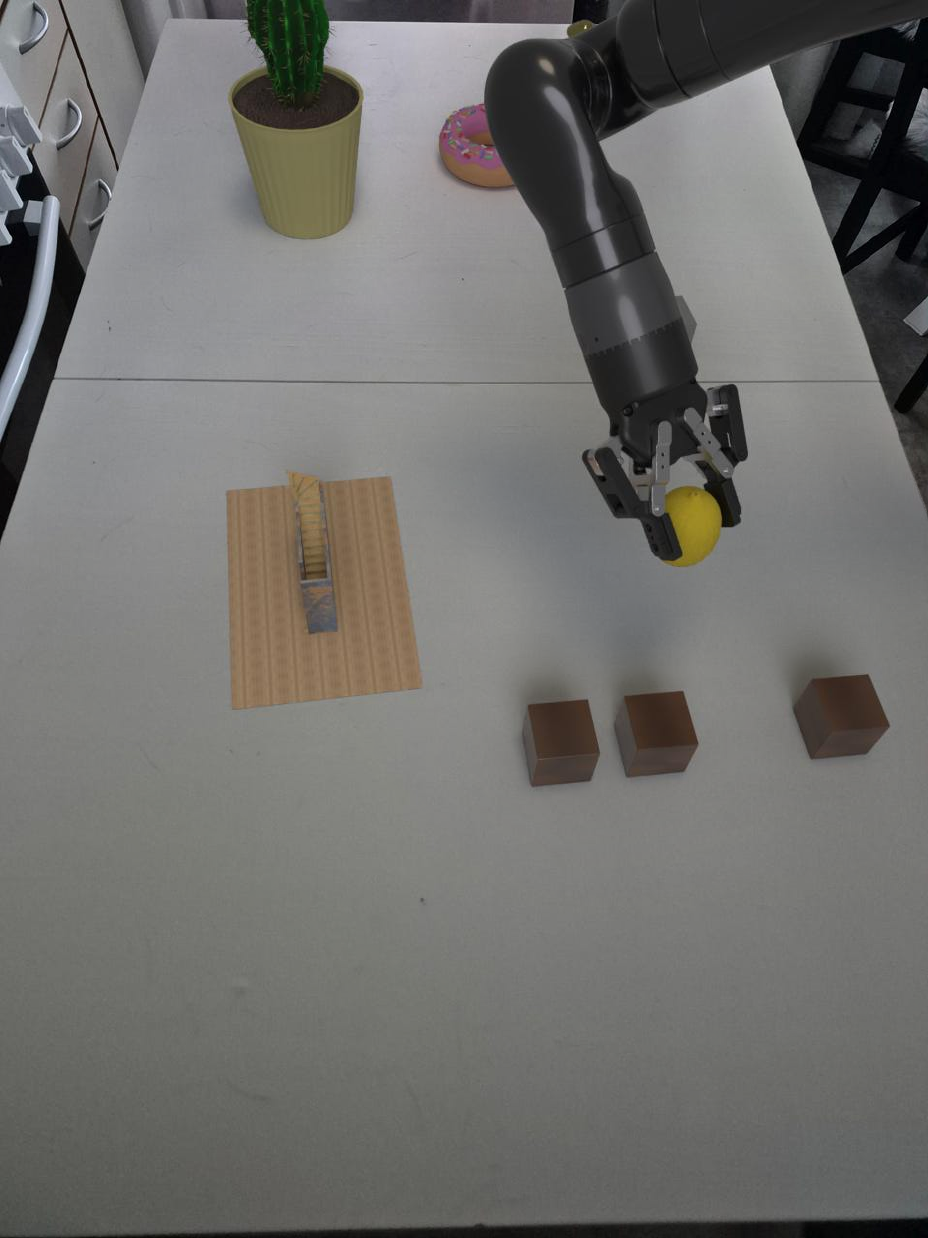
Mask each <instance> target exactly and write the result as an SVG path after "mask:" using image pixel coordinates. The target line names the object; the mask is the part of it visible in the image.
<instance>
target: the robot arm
mask: <svg viewBox="0 0 928 1238" xmlns="http://www.w3.org/2000/svg"><path fill="white" fill-rule="evenodd" d="M927 18H928V0H626V1H625V2H624V3H623V5H622V6H621V8H620V10H619V12H618V13H616V14H615V15H612V16H610V17H609V18H607V19H605V20H603V21H602V22H599V23H598V24H596V26H594V27H592V28H590V29H588V30H586V31H584V32H581V33H579V34H576V35H574V36H571V37H566V38H565V37H564V38H543V37H542V38H540V37H539V38H535V37H533V38H526V39H521V40H519V41H516V42H514V43H512V44H510V45H508V46H507V47H506V48H504V49H503V50H502V51H501V52H500V53H499V54H498V55H497V57H496V58H495V60H493V62H492V65H491V66H490V67H489V70H488V73H487V76H486V78H485V83H484V91H483V104H484V107H485V116H486V122H487V126H488V130H489V133H490V136H491V139H492V142H493V144H494V145H493V147H495V149H496V151H497V154H498V156H499V158H500V160H501V161H502V163H503V165H504V167H505V169H506V171H507V172H508V174H509V176H510V178H511V179H512V181H513V183H514V184H515V185H514V186H515V188H516V190H517V191H518V193H519V195H520V197H521V199H522V200H523V202H524V203H525V205H526V207H527V208H528V210H529V211H530V213H531V214H532V215H533V217H534V218H535V220H536V221H537V223H538V224H539V226H540V228H541V229H542V231H543V234H544V236H545V240H546V243H547V247H548V250H549V253H550V256H551V259H552V262H553V265H554V267H555V271H556V273H557V277H558V279H559V282H560V285H561V287H562V289H563V294H564V296H565V300H566V305H567V309H568V314H569V318H570V319H569V320H570V322H571V325H572V328H573V329H572V330H573V331H574V334H575V337H576V340H577V343H578V345H579V348H580V351H581V354H582V357H583V361H584V362H585V365H586V368H587V372H588V374H589V376H590V379H591V383H592V385H593V388H594V390H595V394H596V396H597V399H598V402H599V405H600V406H601V409H603V411H604V412H605V413H606V415H607V417H608V419H609V420H608V421H609V431H608V433H609V437H608V438H607V439H605V440H604V441H603V442H602V443H600V444H599V445H598V446H597V447H594V448H588V449H585V450H584V451H583V452H582V454H581V461H582V463H583V464H584V467H585V468H586V470H587V472H588V473H589V476H590V477H591V478H592V480H593V482H594V485H595V486H596V487H597V490H598V491H599V493H600V494H601V497H602V498H603V499H604V502H605V504H606V505H607V507H608V509H609V510H610V512H611V514H612V516H613V517H614V518H616V519H617V520H619V519H627V520H628V519H636V520H637V519H638V521H639V522H640V523H641V526H642V529H643V531H644V535H645V538H646V540H647V544H648V545H649V549H650V552H651V553H652V554H653V555H654V556H655V557H657V556H659V558H660V559H661V560H660V559H659V558H658V559H659V560H660V561H662V560H664V561H675V560H677V559H679V558H680V557H682V555H683V553H682V550H681V547H680V544H679V541H678V538H677V535H676V532H675V529H674V526H673V523H672V521H671V518H670V515H669V513H664V512H665V495H666V488H667V485H668V484H669V482H670V477H671V475H670V473H671V472H670V471H671V470H670V468H671V466H673V465H675V464H676V463H677V462H678V461H679V460H680V459H681V458H682V459H683V460H684V461H685V462H687V463H690V464H691V465H692V466H693V467H694V469H695V470H696V471H697V472H698V473H699V474H700V476H701V477H702V478H703V479H704V480H706V482H705V483H703V484H702V486H703V490H705V491H707V492H708V493H710V494H711V495H712V496H713V497H714V498H715V500H716V501H717V503H718V505H719V507H720V511H721V516H722V525H721V528H734V527H736V526H737V525H740V524H741V523H742V519H741V515H742V506H741V502H740V500H739V496H738V493H737V490H736V487H735V484H734V481H733V475H734V472H735V468H736V467H737V466H738V464H739V463H740V462H741V463H742V462H745V461H746V460H747V459H748V457H749V450H748V443H747V437H746V431H745V430H746V429H745V425H744V420H743V419H744V418H743V413H742V406H741V400H740V393H739V389H738V387H737V385H736V384H734V383H728V384H720V385H715V386H713V387H712V386H711V387H708V388H707V389H706V390H705V389H704V388H703V387H702V386H701V385H700V384H699V381H697V378H696V377H697V375H698V373H699V365H698V362H697V359H696V356H695V353H694V350H693V347H692V343H690V340H689V337H688V334H687V331H686V328H685V325H684V322H683V318H682V315H681V312H680V309H679V306H678V303H677V300H676V297H675V296H676V293H675V291H674V288H673V285H672V283H671V280H670V277H669V275H668V273H667V270H666V269H665V266H664V265H663V262H662V261H661V258H660V256H659V253H658V251H656V250H657V248H656V246H655V241H654V238H653V235H652V232H651V229H650V226H649V222H648V219H647V217H646V214H645V211H644V207H643V204H642V202H641V199H640V196H639V194H638V191H637V190H636V188H635V186H634V184H633V183H632V182H631V180H630V179H628V178H627V177H626V176H624V175H622V174H620V173H618V172H617V171H616V170H614V169H613V168H612V166H611V165H610V163H609V162H608V161H609V160H608V159H607V156H606V154H605V153H604V150H603V147H602V146H601V143H600V142H602V141H604V140H606V139H608V138H611V137H613V136H614V135H617V134H618V133H620V132H622V131H624V130H626V129H628V128H630V127H631V126H633V125H635V124H637V123H639V122H640V121H642V120H643V119H645V118H647V117H649V116H651V115H653V114H654V113H656V112H657V111H660V110H661V109H665V108H667V107H670V106H674V105H677V104H681V103H683V102H685V101H688V100H691V99H693V98H695V97H698V96H700V95H703V94H705V93H708V92H710V91H713V90H714V89H717V88H720V87H722V86H724V85H726V84H729V83H731V82H734V81H735V80H738V79H740V78H742V77H744V76H747V75H749V74H751V73H753V72H756V71H759V70H760V69H762V68H765V67H768V66H770V65H773V64H775V63H778V62H780V61H783V60H786V59H787V58H791V57H793V56H795V55H799V54H801V53H804V52H808V51H810V50H813V49H816V48H819V47H823V46H826V45H829V44H833V43H836V42H840V41H842V40H846V39H849V38H853V37H857V36H860V35H864V34H867V33H868V34H869V33H872V32H875V31H879V30H883V29H887V28H890V27H891V28H892V27H895V26H899V25H902V24H906V23H907V24H908V23H911V22H915V21H919V20H922V19H927ZM706 415H707V416H708V423H709V428H710V429H709V428H708V427H707V426H706V424H705V419H706ZM621 452H622V453H624V454H625V455H626V456H628V475H627V474H626V472H625V470H624V468H623V466H622V465H623V464H624V463H625V460H624V458H623V457H622V456H621ZM647 469H650V470H651V471H650V472H649V473H647Z"/></svg>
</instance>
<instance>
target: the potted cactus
mask: <svg viewBox="0 0 928 1238" xmlns="http://www.w3.org/2000/svg"><path fill="white" fill-rule="evenodd" d="M243 1H244V2H246V4H245V5H244V4H241V3H238V6H242V7H243V8H244V10H242V12H243V13H241V14H240V15H239V16H244V15H245V14H246V16H244V18H245V19H244V21H246V22H244V23H243V22H242V21H241V22H240V24H242V25H241V27H244V28H247V29H245V30H243V31H240V32H239V34H241V33H244V32H249V35H250V36H248V37H247V38H248V40H247V41H246V43H245V45H244V47H246V45H247V46H248V45H249V44H250V45H255V48H254V50H253V51H252V53H254V52H255V51H256V54H255V55H258V52H259V51H261V52H262V54H263V55H260V56H258V57H256V59H259V61H262V62H261V64H260V65H262V64H263V63H265V65H264V66H260V67H257V68H256V69H253V70H251V71H249V72H247V73H245V74H243V75H242V76H241V77H240V78H238V79H236V81H235V82H234V83H233V84H232V86H231V87H230V89H229V92H228V100H227V101H228V104H229V106H230V111H231V115H232V118H233V121H234V124H235V127H236V131H237V134H238V137H239V141H240V143H241V147H242V151H243V153H244V156H245V161H246V163H247V166H248V169H249V174H250V177H251V180H252V183H253V186H254V189H255V193H256V196H257V198H258V202H259V206H260V209H261V212H262V215H263V218H264V220H265V222H266V224H267V225H268V226H269V228H271V230H273V231H275V232H277V233H278V234H280V235H283V236H286V237H289V238H294V239H300V240H301V239H303V240H309V239H312V240H313V239H319V238H325V237H327V236H331V235H334V234H335V233H338V232H340V231H341V230H342V229H344V228H345V227H346V226H347V225H348V223H349V222H350V221H351V218H352V216H353V215H352V214H353V211H354V200H355V192H356V191H355V189H356V179H357V168H358V159H359V158H358V157H359V147H360V146H359V145H360V137H361V123H362V115H363V102H364V99H365V98H364V97H365V96H364V90H363V88H362V86H361V84H360V83H359V82H358V81H357V80H356V79H355V78H354V77H353V76H352V75H350V74H349V73H348V72H345V71H343V70H341V69H339V68H336V67H333V66H331V65H326V64H324V62H326V63H328V61H326V60H330V59H331V57H325V56H326V54H325V51H326V52H327V53H329V55H331V56H333V54H332V53H331V52H329V50H330V47H328V46H327V44H329V43H328V42H330V40H329V39H330V34H331V35H332V36H334V37H336V38H337V36H336V35H335V34H334V33H333V32H332V31H334V32H337V30H335V29H333V28H334V26H332V25H331V23H330V20H331V19H333V17H335V15H336V14H334V15H333V16H332V14H333V12H334V10H335V9H334V8H335V7H334V8H329V9H326V8H325V0H243ZM242 7H240V9H242ZM332 9H334V10H333V11H332ZM330 10H331V11H330ZM328 11H330V12H329V13H327V12H328ZM330 14H331V15H330ZM239 16H238V17H239ZM330 27H332V28H330ZM337 33H338V32H337ZM251 40H255V42H251ZM250 42H251V43H250ZM244 47H243V48H244ZM256 49H257V50H256ZM260 58H261V59H260ZM262 58H263V60H262Z"/></svg>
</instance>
